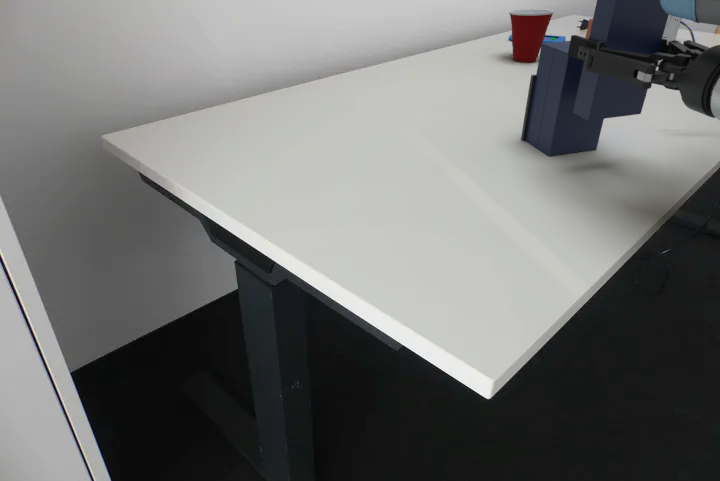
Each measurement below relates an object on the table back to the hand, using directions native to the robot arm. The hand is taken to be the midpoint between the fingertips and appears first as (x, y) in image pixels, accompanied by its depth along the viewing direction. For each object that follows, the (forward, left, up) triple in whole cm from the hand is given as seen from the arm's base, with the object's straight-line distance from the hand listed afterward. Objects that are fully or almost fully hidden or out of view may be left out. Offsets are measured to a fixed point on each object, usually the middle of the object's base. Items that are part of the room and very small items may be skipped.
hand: (600, 42), depth 77 cm
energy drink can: (0, -93, -17) cm, 95 cm away
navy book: (-3, +3, -9) cm, 10 cm away
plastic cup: (+27, -54, -17) cm, 63 cm away
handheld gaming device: (+31, -77, -17) cm, 85 cm away
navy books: (+3, -3, -17) cm, 18 cm away
